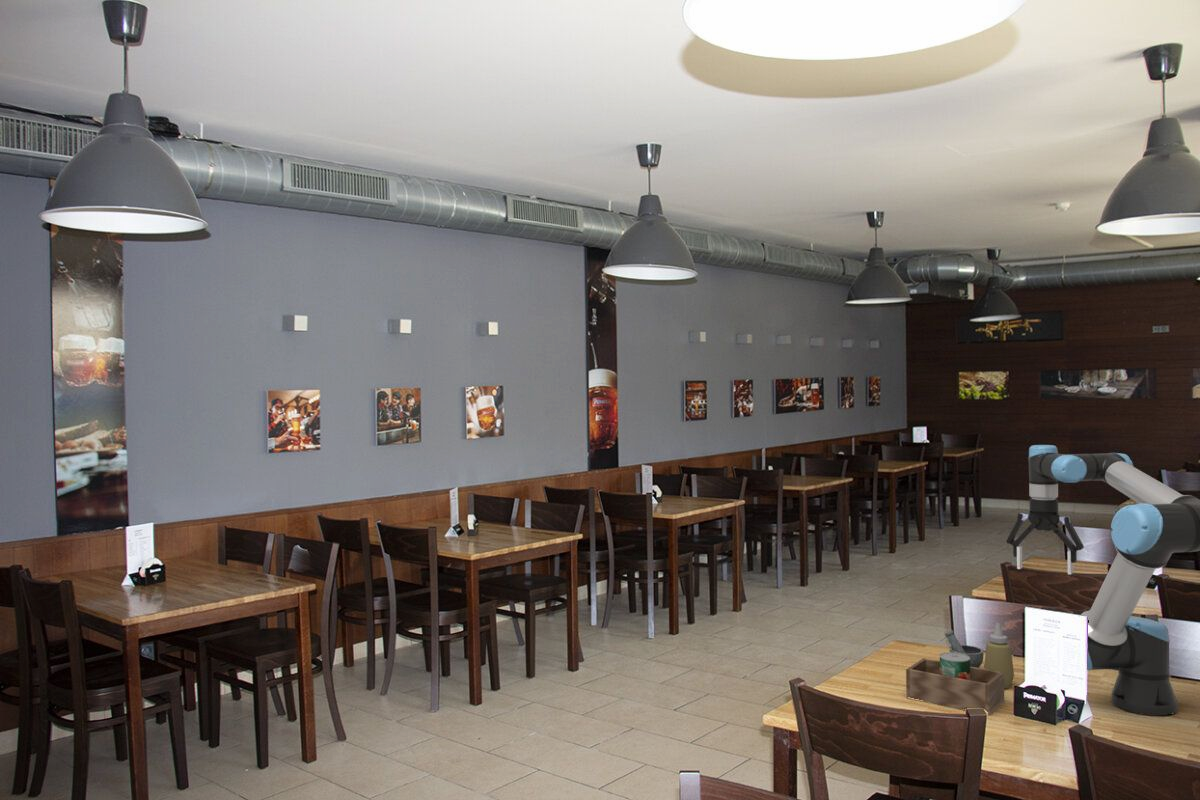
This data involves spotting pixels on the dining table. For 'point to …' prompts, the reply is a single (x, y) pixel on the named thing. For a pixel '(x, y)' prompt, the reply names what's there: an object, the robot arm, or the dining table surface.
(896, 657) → the dining table surface
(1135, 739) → the dining table surface
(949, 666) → the canned tomato
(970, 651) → the mortar and pestle
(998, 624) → the squeeze bottle
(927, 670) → the wooden box
